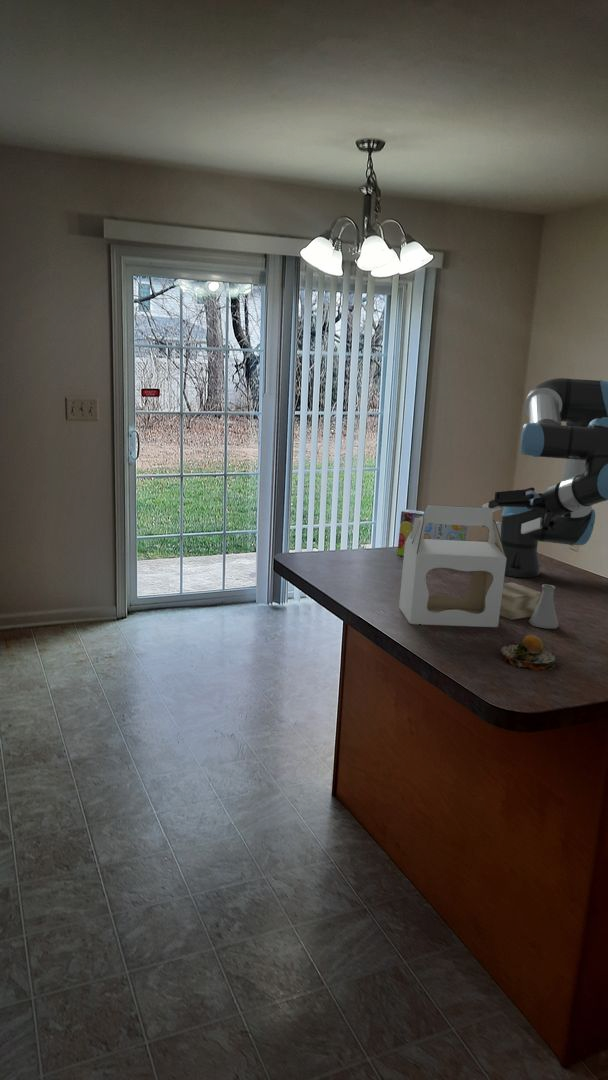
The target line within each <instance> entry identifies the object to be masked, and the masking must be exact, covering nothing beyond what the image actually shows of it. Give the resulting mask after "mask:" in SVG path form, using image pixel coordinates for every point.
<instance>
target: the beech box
mask: <svg viewBox="0 0 608 1080" xmlns="http://www.w3.org/2000/svg"><path fill="white" fill-rule="evenodd" d="M541 595H542V591H538V590H535V589H534V588H533V589H532V588H530V587H526V586H524V585H521V584H518V583H515V582H504V584H503V591H502V599H501V607H500V615H499V616H500V617H504V618H506V619H508V620H517V619H523V618H531V616H532V614H533V613H534V611H535V609H536V607H537V605H538V603H539V601H540V598H541Z"/></svg>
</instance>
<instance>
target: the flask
mask: <svg viewBox="0 0 608 1080" xmlns="http://www.w3.org/2000/svg"><path fill="white" fill-rule="evenodd" d="M541 588H542V591H541V593H542V595H541V598H540V601H539V603H538V605H537V607H536V609H535V611H534V613H533V614H532V616H531V617H529V618H530V619H529V620H528V624H530V625H531V626H533V627H537V628H542V629H547V630H548V629H549V630H550V629H552V630H553V629H554V630H555V629H557V628H559V621H558V617H557V614H556V613H557V612H556V608H555V602H554V591H555V589H556V586H555V585H552V584H546V583H545V584H542V585H541Z"/></svg>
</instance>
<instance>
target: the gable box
mask: <svg viewBox="0 0 608 1080" xmlns="http://www.w3.org/2000/svg"><path fill="white" fill-rule="evenodd" d="M423 510H424V511H423V512H424V515H423V516H421V517H420V518H418V517H414V522H413V527H412V531H411V533H410V535H409V536H408V538H407V540H406V541H405V549H404V556H403V562H402V571H401V582H400V594H399V602H398V608H399V609H400V611H401V613H402V614H403V615H404V617H405V618H406V620H407V622H408V623H409V624H410V625H419V624H421V626H422V625H423V626H425V625H426V626H450V627H452V626H453V627H480V628H498V627H499V622H500V616H501V615H500V607H501V599H502V591H503V584H504V583H505V576H506V575H505V568H506V560H507V557H506V554H505V551H504V547H503V544H502V541H501V524H502V520H501V521H498V520H497V521H495V520H494V518H493V517H494V516H493V512H492V510H491V509H490V508H482V506H481V507H479V506H478V507H477V506H463V505H462V506H459V505H439V504H428V505H426V506H425V508H424V509H423ZM427 524H431V525H432V524H448V525H467V527H468V526H470V527H471V526H472V527H473V526H474V527H482V528H485V527H486V528H487V530H488V534H487V540H486V541H476V540H475V541H472V540H466V541H455V540H434V539H424V529H425V526H426V525H427ZM439 568H440V569H442V568H443V569H449V570H450V569H452V570H455V571H460V572H461V571H462V572H474V573H473V575H472V577H471V579H470V582H469V594H468V596H466V597H463V598H462V597H457V596H454V595H451V594H448V593H447V594H446V593H435V594H431V595H430V594H429V589H428V586H427V581H426V577H427V574H428V573H429V572H430V571H431V570H433V569H439Z"/></svg>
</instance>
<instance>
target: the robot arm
mask: <svg viewBox="0 0 608 1080" xmlns="http://www.w3.org/2000/svg"><path fill="white" fill-rule="evenodd" d="M524 411H525V413H526V416H527V417H528V422H527V423H524V424H523V426H522V430H521V436H520V437H521V438H520V446H519V447H520V448H519V450H520V453H521V454H522V455H524V456H531V457H535V458H539V457H540V458H551V459H552V458H553V459H564V464H563V469H562V476H561V480H560V481H559V482H558V483H554V484H552V485H549V486H548V487H547V488H546V490H545V491H543V492H538V493H537V492H536V491H535V488H534V487H529V488H525V489H516V490H513V489H512V490H505V491H504V490H503V491H495V492H494V498H493V499H492V500H489V501H488V502H487V503H483V504H482V506H481V508H490V509H491V510H492V513H494V512H497V511H500V510H502V513H501V516H502V518H501V541H502V544H503V547H504V551H505V554H506V557H507V560H506V568H505V576H508V577H515V578H535V576H536V577H539V576H540V575H541V574H540V573H541V566H540V563H539V556H538V546H539V545H538V543H539V542H544V543H550V544H559V545H561V544H562V545H568V546H585V545H586V544H587V543H588V542H589V541H590V539H591V536H592V533H593V531H594V526H595V522H596V510H595V509H594V508H593V507H592V506H593V505H596V504H599V503H603V502H605V501H608V380H607V381H606V380H603V379H600V380H597V379H596V380H595V379H580V378H566V377H557V378H556V377H555V378H552V379H551V378H550V379H548V380H545V381H543V382H541V383H538V384H537V385H535V386H534V387H533V388H532V389H530V391H529V392H528V394H527V395H526V397H525V399H524ZM562 422H565V425H562ZM538 575H539V576H538Z"/></svg>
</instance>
